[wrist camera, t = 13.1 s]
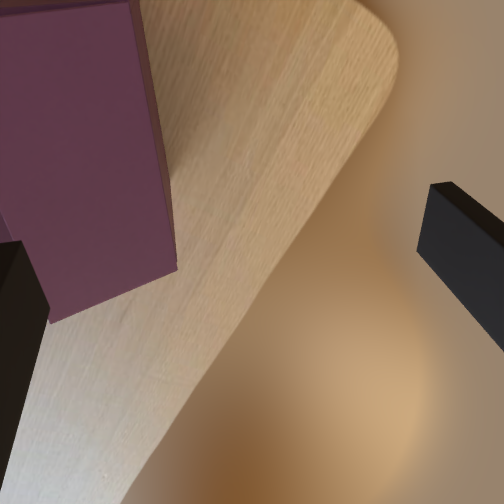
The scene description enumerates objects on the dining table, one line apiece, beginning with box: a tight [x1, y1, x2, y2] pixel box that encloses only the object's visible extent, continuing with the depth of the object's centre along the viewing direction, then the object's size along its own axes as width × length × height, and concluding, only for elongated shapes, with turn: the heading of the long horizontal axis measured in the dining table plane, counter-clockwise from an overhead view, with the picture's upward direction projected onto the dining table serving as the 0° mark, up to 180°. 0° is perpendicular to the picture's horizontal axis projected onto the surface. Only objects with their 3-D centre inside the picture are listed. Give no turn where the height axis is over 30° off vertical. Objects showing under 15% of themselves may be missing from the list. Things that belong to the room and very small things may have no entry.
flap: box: [0, 1, 178, 324], centre depth 19 cm, size 7×13×1 cm, turn 1°
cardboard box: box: [0, 0, 177, 262], centre depth 24 cm, size 14×13×11 cm
